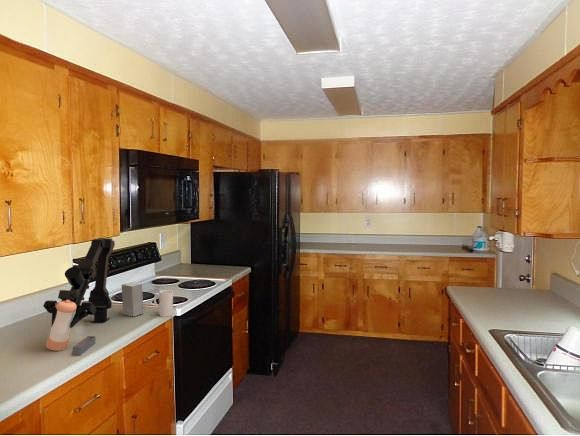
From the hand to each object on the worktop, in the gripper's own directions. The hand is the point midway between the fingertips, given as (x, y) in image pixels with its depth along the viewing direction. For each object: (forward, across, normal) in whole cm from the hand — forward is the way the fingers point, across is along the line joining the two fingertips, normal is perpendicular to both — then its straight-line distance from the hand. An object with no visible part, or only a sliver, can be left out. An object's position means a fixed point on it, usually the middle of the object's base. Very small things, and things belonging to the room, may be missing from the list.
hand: (61, 327), depth 156 cm
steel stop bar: (+5, +8, +8) cm, 12 cm away
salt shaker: (+4, -3, +7) cm, 9 cm away
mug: (-29, +24, +40) cm, 55 cm away
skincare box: (-28, +9, +40) cm, 49 cm away
